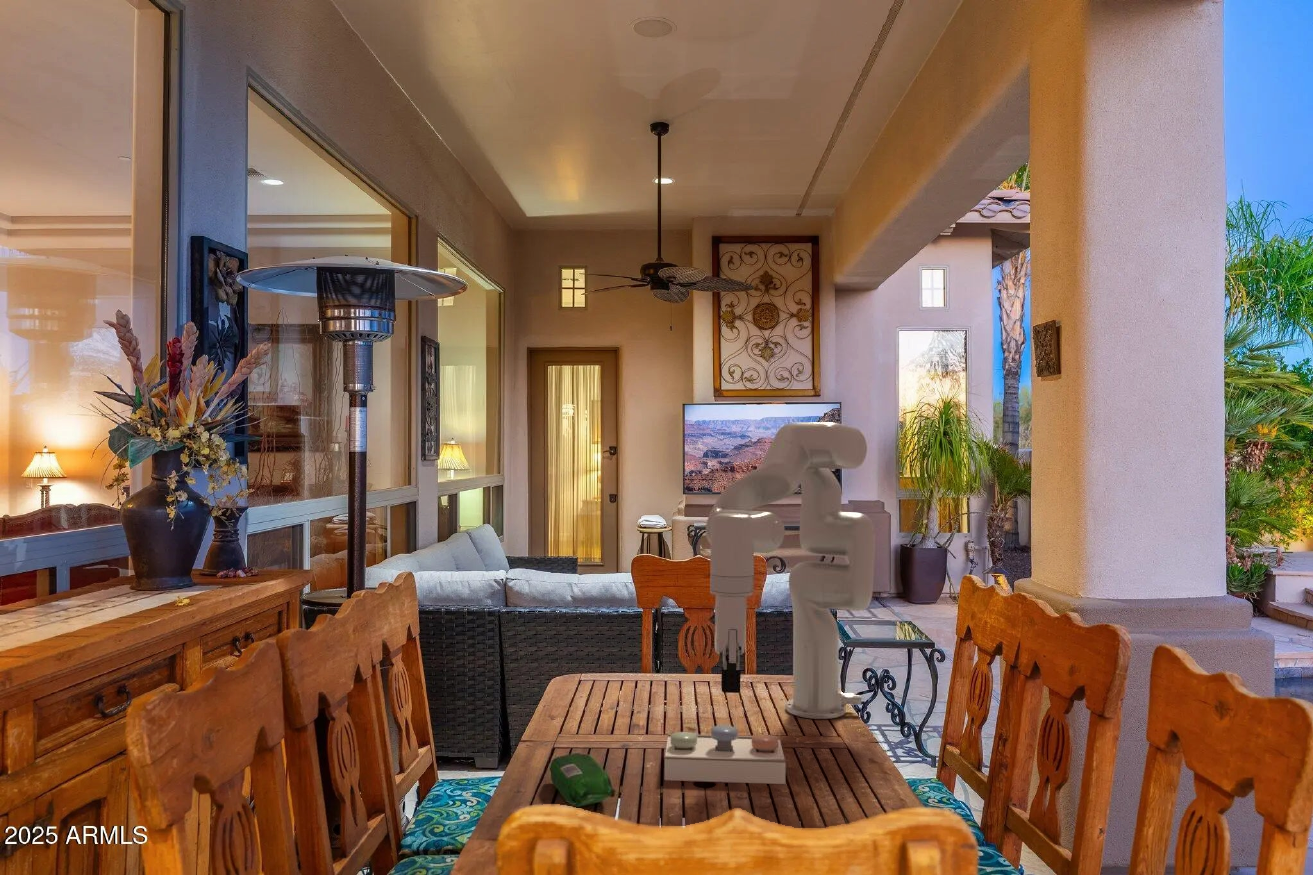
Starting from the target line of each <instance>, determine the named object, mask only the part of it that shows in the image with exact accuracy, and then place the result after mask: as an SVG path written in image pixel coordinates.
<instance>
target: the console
mask: <svg viewBox="0 0 1313 875" xmlns="http://www.w3.org/2000/svg"><path fill="white" fill-rule="evenodd" d="M672 734H673V733H667V741H666V748H665V754H664V781H676V782H678V781H679V782H680V781H683V782H684V781H685V782H686V781H687V782H706V783H707V782H708V783H709V782H710V783H712V782H713V783H714V782H715V783H737V784H738V783H740V784H741V783H742V784H745V783H747V784H770V785H771V784H774V785H775V784H776V785H786V769H787V768H786V758H785V755H784V752H783V747H782V743H781V737H780V736H776V737H777V738H778V748H777V749H774V750H772V753H762V752H757V750H758V749H755V748H753V747H752V737H753V736H754V735H738V738H737V739H736V740H733V741H731V752H729V751H717V740H715V739H713V738H711V734H697V733H696V735H697V745H696V746H694V747H691V750H677V747H675V746H673V745H671V735H672Z"/></svg>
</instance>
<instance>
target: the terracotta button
mask: <svg viewBox="0 0 1313 875" xmlns="http://www.w3.org/2000/svg"><path fill="white" fill-rule="evenodd" d="M752 736H753V737H752V747H753V748H755V749H758V750H757V752H762V753H772V750H774V749H777V748H778V738H777V737H778V736H776V735H772V734H764V733H763V734H756V735H752Z"/></svg>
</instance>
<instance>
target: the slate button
mask: <svg viewBox="0 0 1313 875" xmlns="http://www.w3.org/2000/svg"><path fill="white" fill-rule="evenodd" d="M738 732H739V731H738V728H737V727H735V726H732V725H715V726H713V727H711V728H710V735H711V738H713V739H715V740H717V751H729V752H731V741H733V740H736V739H737V738H738V736H739V734H738Z"/></svg>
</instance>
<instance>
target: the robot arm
mask: <svg viewBox="0 0 1313 875" xmlns="http://www.w3.org/2000/svg"><path fill="white" fill-rule="evenodd" d="M867 451H868V446H867V441H866V437H865V436H864V434H863V433H862V431H861V430H859V429H858V428H856V427H852V426H850V425H849V426H848V425H845V424H842V423H837V422H831V421H830V422H828V421H827V422H826V421H820V422H819V421H817V422H816V421H815V422H813V421H812V422H811V421H810V422H809V421H808V422H807V421H806V422H805V421H803V422H801V421H799V422H790V423H787V424H784V425H782V426H781V427H780V428H779V429H778V430H777V432H776V433H775V436H774V438H773V439H772V442H771V443H770V444H769V447H768V448H767V450H766V453H765V454H764V457H763V459H762V460H761V462H760V464H759V466H758V468H756V469H755V470H752V471H750V472H749V473H747V474H746V475H744V476H742V477H741V478H739V479H738V480H736V481H734V482H733V483H731V484H730V485H728V486H727V487H726V488H725V489H723V491H721V493H720V495H719V496H718V498H716V501H715V503H714V505H713V506H712V509H711V511H710V512H709V515H708V518H707V521H706V524H705V525H706V526H705V536H706V539H707V541H708V543H709V545H710V567H709V568H710V570H709V571H710V572H709V573H710V574H709V575H710V576H709V577H710V578H709V593H710V595H712V596H713V595H715V606H714V651H715V653H716V654H718V655H720V654H721V653H722V666H721V680H720V681H721V689H720V690H721V692H722V693H724V694H725V693H727V694H740V693H741V675H742V674H741V671H742V670H741V667H740V660H741V658H740V655H743V654H744V653H745V648H746V646H745V645H746V637H747V636H746V634H747V601H748V600H747V599H748V598H747V597H750V596H752V595H754V591H755V590H754V589H755V588H754V582H755V581H754V578H755V577H754V575H755V571H754V568H755V553H759V554H769V553H773V552H775V551H776V550H777V549H779V548H780V546H781V545H783V541H784V539H785V533H786V529H785V524H784V522H783V520H782V519H781V517H779V516H778V515H777V514H775V513H773V512H771V511H764V510H753V509H755V508H758V507H761V506H765V505H769V504H772V503H777V502H780V501H782V500H785V499H787V498H790V497H791V496H792V495H793V494H795V493H796V492H797V490H798V489H799V486H800V488H801V503H800V520H799V543H800V548H801V550H802V551H804V552H805V553H807V554H811V555H814V556H815V555H817V556H825V557H838V558H839V557H841V558H847V559H848V563H837V562H832V561H831V562H830V561H817V560H807V561H802V562H799V563H796V564H795V565H794V566H793V567H792V569H791V571H790V573H789V576H788V587H789V588H788V589H789V594H790V599H791V606H792V618H793V619H792V620H793V623H792V624H793V625H792V626H793V628H792V630H793V631H792V633H793V638H792V641H793V644H792V646H793V653H792V655H793V656H792V660H793V662H792V668H793V669H792V673H793V674H792V699H789V700H787V701H786V702H785V710H786V711H787V713H789V714H792V715H794V716H797V717H801V718H806V719H811V720H812V719H814V720H829V719H837V718H840V717H842V716H844V715H845V714H846V713H847V712H846V711H847V707H846V706H847V705H853V706H854V705H857V706H861V705H862V696H861V694H860V695H859V694H854V693H853V692H851V693H850V692H849V693H848V692H847V693H845V692H844V693H843V692H842V691H841V689H840V688H839V653H840V652H839V648H840V647H839V641H840V640H839V638H840V637H839V636H840V635H839V634H840V633H839V626H838V624H837V621H836V619H835V617H834V616H833V613H832V612H831V611H830V609H835V610H844V611H852V612H853V611H855V612H859V611H864V610H866V609H867V608H868V607H869V606H870V604H871V601H872V598H873V593H874V576H875V554H876V551H875V550H876V532H875V526H874V523H873V521H872V519H871V518H870V516H868V515H867V514H865V513H861V512H854V511H851V512H850V511H842V496H843V495H842V494H843V492H842V487H841V484H840V482H839V481H838V478H836V476H835V474H834V473H833V472H832V471H831V470H830V469H840V470H841V469H843V470H845V469H847V470H848V469H849V470H851V469H854V470H855V469H857V468H859V467H861V466H862V465H863V463H864V461H865V459H866V457H867Z"/></svg>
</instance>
